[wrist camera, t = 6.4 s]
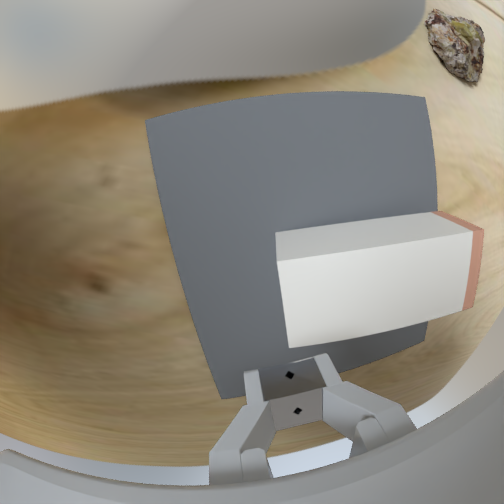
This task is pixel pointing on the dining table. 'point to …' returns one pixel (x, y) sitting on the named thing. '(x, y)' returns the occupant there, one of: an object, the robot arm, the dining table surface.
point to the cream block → (375, 275)
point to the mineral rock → (457, 43)
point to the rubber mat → (281, 209)
